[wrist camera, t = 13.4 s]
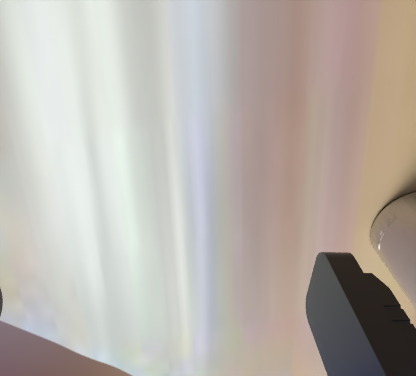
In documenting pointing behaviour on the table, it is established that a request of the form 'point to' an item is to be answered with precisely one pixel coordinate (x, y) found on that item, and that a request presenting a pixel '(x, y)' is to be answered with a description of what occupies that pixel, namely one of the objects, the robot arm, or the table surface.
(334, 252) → the robot arm
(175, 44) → the table surface
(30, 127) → the table surface
